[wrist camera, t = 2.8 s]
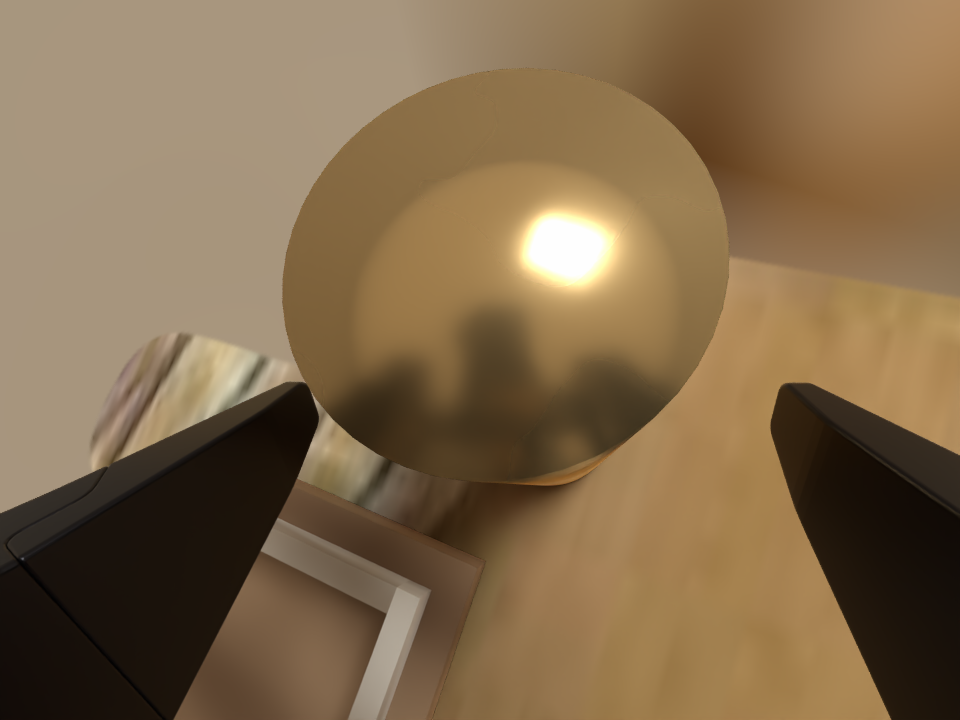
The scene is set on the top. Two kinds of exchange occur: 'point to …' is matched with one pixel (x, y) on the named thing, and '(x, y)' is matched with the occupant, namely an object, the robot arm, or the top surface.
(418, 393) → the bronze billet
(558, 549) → the top surface
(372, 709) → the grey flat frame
